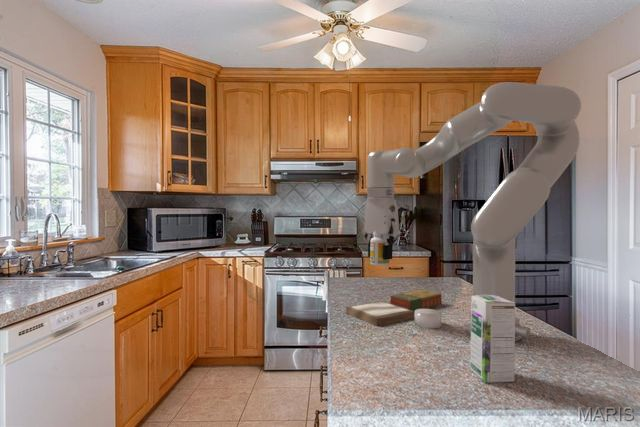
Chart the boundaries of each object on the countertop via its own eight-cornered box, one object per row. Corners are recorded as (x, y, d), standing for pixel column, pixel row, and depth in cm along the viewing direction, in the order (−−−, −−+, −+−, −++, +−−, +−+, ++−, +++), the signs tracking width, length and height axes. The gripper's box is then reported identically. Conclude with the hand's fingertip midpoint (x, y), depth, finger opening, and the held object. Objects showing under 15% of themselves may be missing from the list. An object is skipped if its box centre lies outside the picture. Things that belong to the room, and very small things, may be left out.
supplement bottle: (391, 264, 104) (392, 230, 104) (385, 266, 99) (385, 231, 99) (374, 262, 107) (374, 229, 107) (367, 264, 102) (367, 230, 102)
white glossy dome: (447, 326, 97) (447, 313, 97) (428, 330, 93) (428, 317, 93) (427, 319, 103) (427, 307, 103) (409, 323, 99) (409, 310, 99)
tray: (414, 318, 104) (414, 310, 104) (376, 326, 97) (376, 317, 97) (382, 307, 116) (381, 300, 116) (346, 313, 108) (346, 306, 108)
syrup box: (469, 369, 70) (469, 294, 70) (498, 368, 70) (498, 294, 70) (484, 383, 64) (484, 302, 64) (516, 382, 64) (516, 301, 64)
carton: (442, 305, 119) (442, 292, 119) (410, 313, 110) (410, 299, 110) (421, 300, 126) (421, 288, 126) (389, 307, 117) (389, 294, 117)
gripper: (412, 194, 98) (411, 260, 98) (370, 196, 112) (369, 254, 112) (392, 193, 94) (392, 262, 94) (351, 195, 108) (350, 255, 108)
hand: (379, 257), depth 103 cm, fingers closed on supplement bottle, 5 cm apart
